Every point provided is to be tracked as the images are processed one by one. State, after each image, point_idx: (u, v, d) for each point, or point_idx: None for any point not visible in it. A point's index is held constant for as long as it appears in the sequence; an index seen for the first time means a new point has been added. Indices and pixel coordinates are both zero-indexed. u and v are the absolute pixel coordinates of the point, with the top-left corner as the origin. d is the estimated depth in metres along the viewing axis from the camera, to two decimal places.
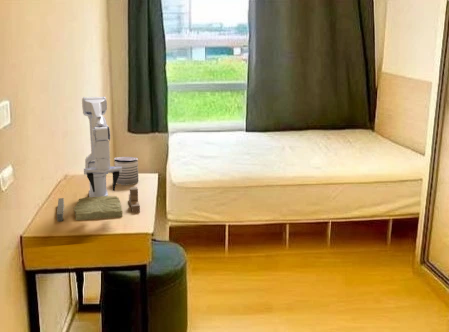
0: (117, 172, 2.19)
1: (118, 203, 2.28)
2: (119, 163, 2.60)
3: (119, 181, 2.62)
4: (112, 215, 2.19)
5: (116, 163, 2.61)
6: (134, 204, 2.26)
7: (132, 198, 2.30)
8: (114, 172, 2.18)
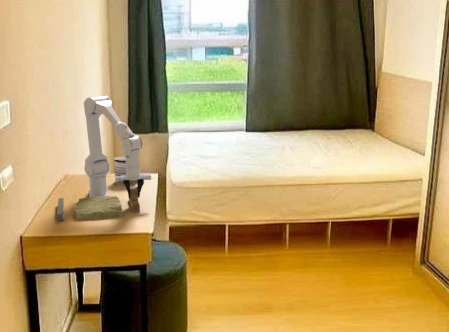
0: (147, 179, 2.30)
1: (118, 203, 2.28)
2: (119, 163, 2.60)
3: (119, 181, 2.62)
4: (112, 215, 2.19)
5: (116, 163, 2.61)
6: (134, 204, 2.26)
7: (132, 198, 2.30)
8: (144, 179, 2.30)
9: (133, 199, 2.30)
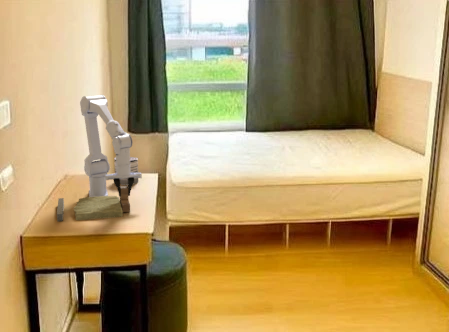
0: None
1: (118, 203, 2.28)
2: None
3: None
4: (112, 215, 2.19)
5: None
6: (124, 203, 2.25)
7: (122, 197, 2.29)
8: None
9: (123, 198, 2.29)
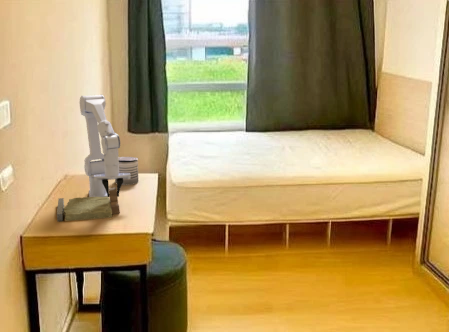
0: (126, 178, 2.28)
1: (108, 204, 2.28)
2: (119, 163, 2.60)
3: None
4: (101, 216, 2.18)
5: None
6: (113, 205, 2.24)
7: (111, 199, 2.28)
8: (123, 178, 2.28)
9: (113, 200, 2.28)
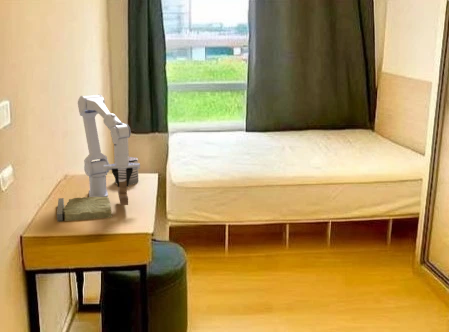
0: (135, 168, 2.28)
1: (108, 204, 2.28)
2: None
3: None
4: (101, 216, 2.18)
5: None
6: (122, 196, 2.24)
7: (121, 190, 2.28)
8: (133, 168, 2.28)
9: (122, 192, 2.28)
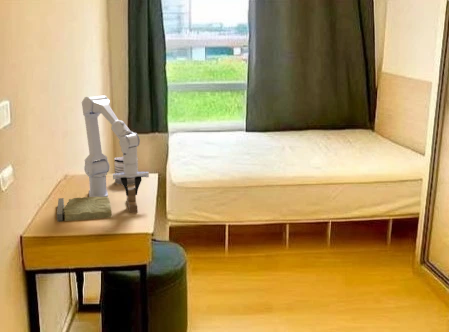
0: None
1: (108, 204, 2.28)
2: (119, 163, 2.60)
3: (119, 181, 2.62)
4: (101, 216, 2.18)
5: (116, 163, 2.61)
6: (132, 204, 2.26)
7: (130, 198, 2.30)
8: None
9: (131, 200, 2.30)
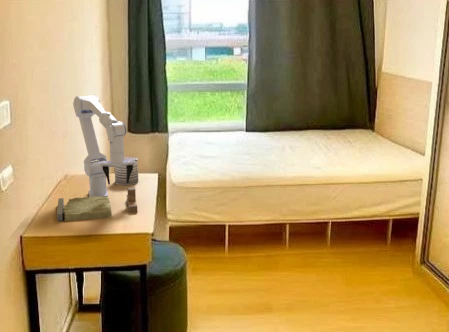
0: (131, 166, 2.31)
1: (108, 204, 2.28)
2: None
3: (119, 181, 2.62)
4: (101, 216, 2.18)
5: None
6: (132, 204, 2.26)
7: (130, 198, 2.30)
8: (128, 166, 2.31)
9: (131, 200, 2.30)
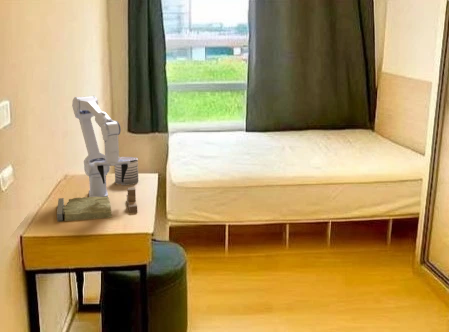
0: (126, 165, 2.32)
1: (108, 204, 2.28)
2: None
3: (119, 181, 2.62)
4: (101, 216, 2.18)
5: None
6: (131, 204, 2.26)
7: (130, 198, 2.30)
8: (123, 165, 2.32)
9: (131, 200, 2.30)
